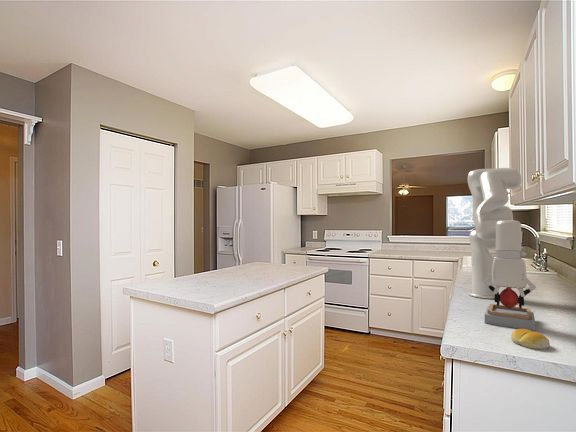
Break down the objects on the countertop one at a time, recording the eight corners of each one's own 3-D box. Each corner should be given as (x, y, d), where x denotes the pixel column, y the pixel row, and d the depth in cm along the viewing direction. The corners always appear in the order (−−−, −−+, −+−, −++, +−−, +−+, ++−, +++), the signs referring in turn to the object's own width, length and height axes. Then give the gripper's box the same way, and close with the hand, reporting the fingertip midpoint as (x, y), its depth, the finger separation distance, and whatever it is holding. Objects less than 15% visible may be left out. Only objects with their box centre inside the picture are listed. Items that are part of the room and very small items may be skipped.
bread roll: (526, 337, 100) (525, 324, 100) (555, 348, 91) (555, 334, 91) (503, 339, 98) (503, 326, 98) (531, 351, 89) (530, 336, 89)
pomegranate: (504, 310, 113) (504, 287, 113) (496, 306, 118) (495, 284, 118) (522, 311, 112) (522, 288, 112) (513, 306, 117) (513, 284, 118)
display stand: (487, 313, 125) (487, 302, 125) (533, 320, 116) (533, 308, 116) (484, 323, 113) (484, 311, 113) (535, 330, 105) (534, 317, 105)
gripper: (538, 255, 113) (539, 307, 113) (481, 252, 123) (481, 300, 123) (539, 257, 107) (540, 312, 107) (479, 254, 117) (479, 304, 117)
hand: (509, 305), depth 115 cm, fingers closed on pomegranate, 5 cm apart
